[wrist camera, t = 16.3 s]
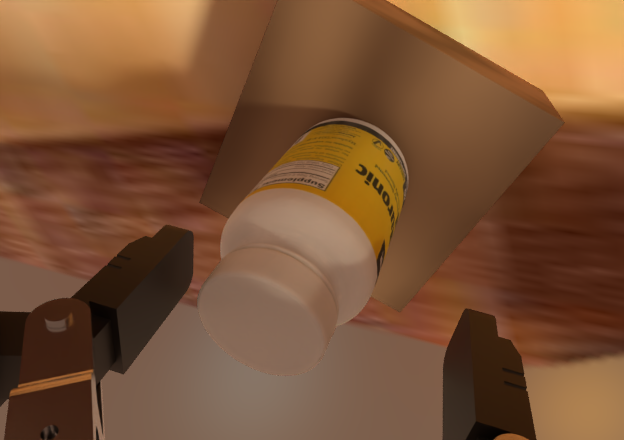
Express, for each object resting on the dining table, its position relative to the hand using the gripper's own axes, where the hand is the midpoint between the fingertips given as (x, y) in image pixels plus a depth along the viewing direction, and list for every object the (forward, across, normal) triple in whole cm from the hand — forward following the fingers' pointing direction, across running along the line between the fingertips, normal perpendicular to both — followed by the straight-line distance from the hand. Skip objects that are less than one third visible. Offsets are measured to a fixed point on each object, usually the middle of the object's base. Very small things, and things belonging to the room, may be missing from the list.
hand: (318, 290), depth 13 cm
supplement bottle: (+9, 0, 0) cm, 9 cm away
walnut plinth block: (+14, 0, 0) cm, 14 cm away
